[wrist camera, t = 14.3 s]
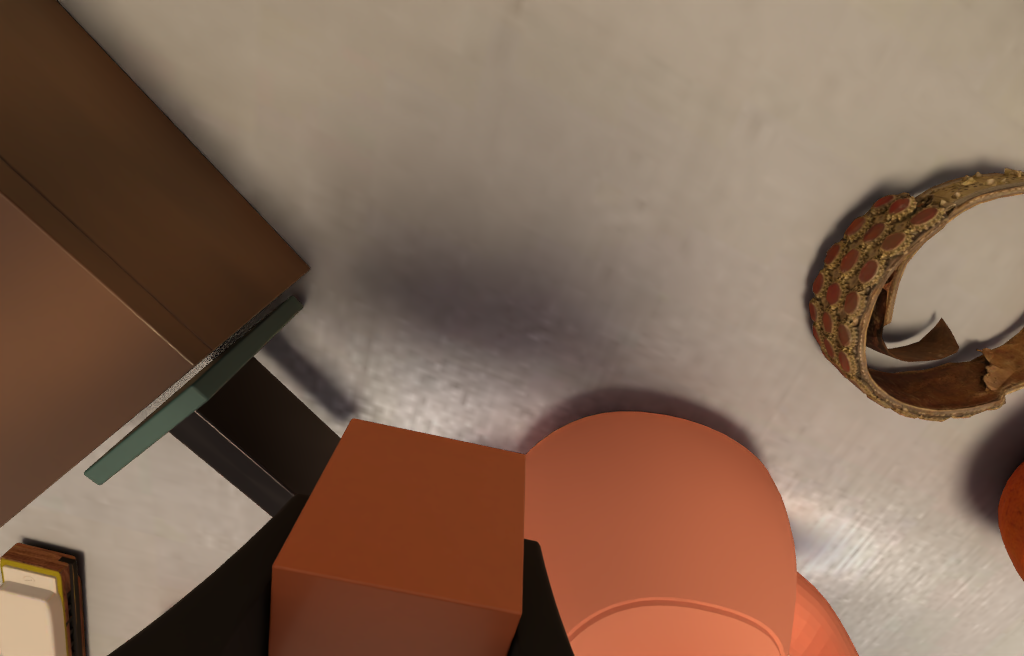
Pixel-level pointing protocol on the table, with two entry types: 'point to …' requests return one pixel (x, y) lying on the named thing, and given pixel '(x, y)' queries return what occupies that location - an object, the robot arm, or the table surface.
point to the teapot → (670, 544)
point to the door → (239, 424)
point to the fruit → (1013, 518)
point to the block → (404, 551)
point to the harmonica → (40, 603)
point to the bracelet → (871, 295)
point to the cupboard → (105, 251)
